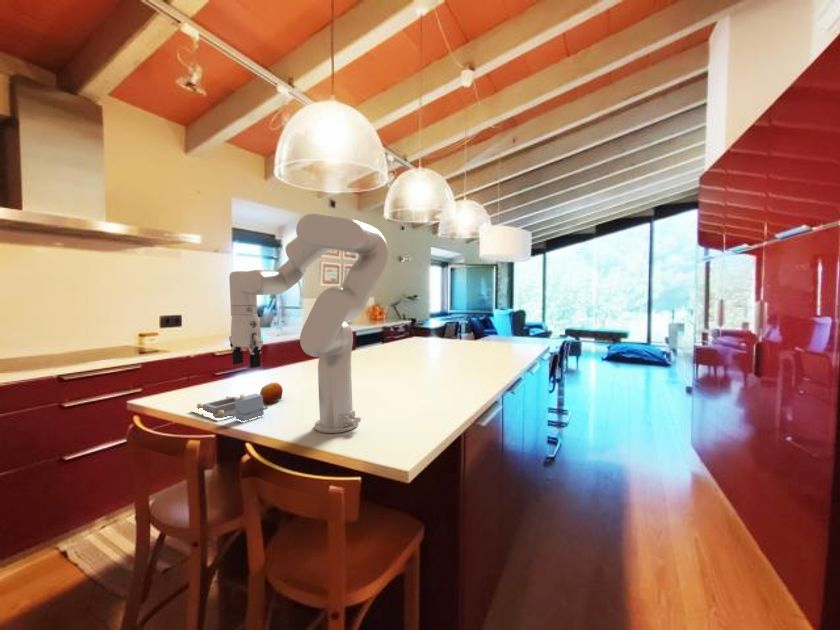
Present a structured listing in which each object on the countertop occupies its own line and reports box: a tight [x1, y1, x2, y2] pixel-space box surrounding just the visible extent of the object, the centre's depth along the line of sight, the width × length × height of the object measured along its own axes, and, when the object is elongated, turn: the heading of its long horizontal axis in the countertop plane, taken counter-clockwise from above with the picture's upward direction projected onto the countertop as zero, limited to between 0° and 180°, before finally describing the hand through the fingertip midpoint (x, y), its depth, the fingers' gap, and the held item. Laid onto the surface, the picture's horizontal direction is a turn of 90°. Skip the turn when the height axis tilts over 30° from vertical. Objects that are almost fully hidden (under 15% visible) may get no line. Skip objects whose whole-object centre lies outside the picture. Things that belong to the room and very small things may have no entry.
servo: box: [231, 393, 268, 421], centre depth 124 cm, size 4×10×8 cm, turn 144°
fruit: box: [259, 382, 284, 404], centre depth 142 cm, size 8×8×8 cm
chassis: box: [196, 395, 239, 418], centre depth 133 cm, size 18×14×3 cm
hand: (246, 365), depth 123 cm, fingers open, 9 cm apart
